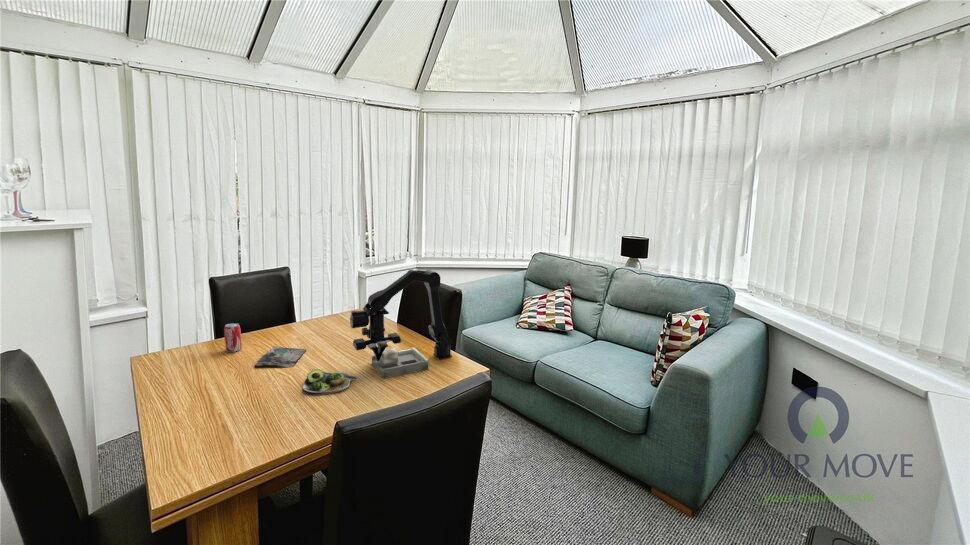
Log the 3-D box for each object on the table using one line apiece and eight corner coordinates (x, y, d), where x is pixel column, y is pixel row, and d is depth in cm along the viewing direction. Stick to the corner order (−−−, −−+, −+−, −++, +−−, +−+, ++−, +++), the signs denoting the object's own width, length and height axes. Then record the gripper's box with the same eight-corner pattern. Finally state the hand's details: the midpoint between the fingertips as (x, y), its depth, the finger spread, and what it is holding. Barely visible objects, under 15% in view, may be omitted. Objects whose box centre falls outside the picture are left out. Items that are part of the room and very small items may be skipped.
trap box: (413, 355, 195) (413, 347, 194) (428, 369, 182) (428, 360, 181) (371, 363, 186) (371, 354, 185) (384, 378, 172) (383, 368, 171)
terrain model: (292, 369, 179) (292, 361, 179) (254, 369, 178) (253, 362, 177) (308, 350, 199) (307, 343, 198) (273, 350, 198) (273, 343, 197)
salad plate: (358, 373, 177) (358, 362, 176) (356, 393, 160) (355, 381, 159) (308, 376, 173) (307, 365, 172) (299, 397, 156) (299, 385, 155)
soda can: (245, 349, 196) (242, 324, 193) (230, 354, 190) (228, 328, 188) (237, 346, 199) (235, 321, 196) (223, 350, 194) (220, 325, 191)
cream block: (394, 356, 188) (394, 348, 187) (398, 361, 184) (398, 352, 183) (380, 359, 185) (380, 350, 184) (384, 363, 181) (384, 354, 180)
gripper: (392, 316, 190) (392, 350, 193) (348, 322, 181) (350, 357, 184) (401, 323, 181) (401, 359, 184) (356, 330, 171) (357, 367, 175)
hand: (377, 360), depth 182 cm, fingers closed
